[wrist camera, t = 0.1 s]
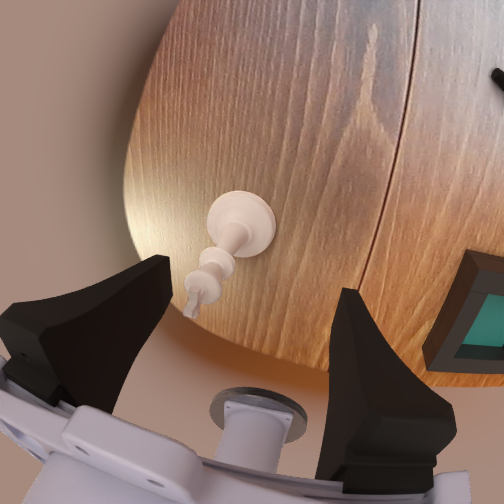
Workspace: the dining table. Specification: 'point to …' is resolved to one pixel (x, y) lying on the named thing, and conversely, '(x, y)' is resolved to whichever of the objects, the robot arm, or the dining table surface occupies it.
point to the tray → (470, 320)
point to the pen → (498, 77)
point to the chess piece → (228, 244)
